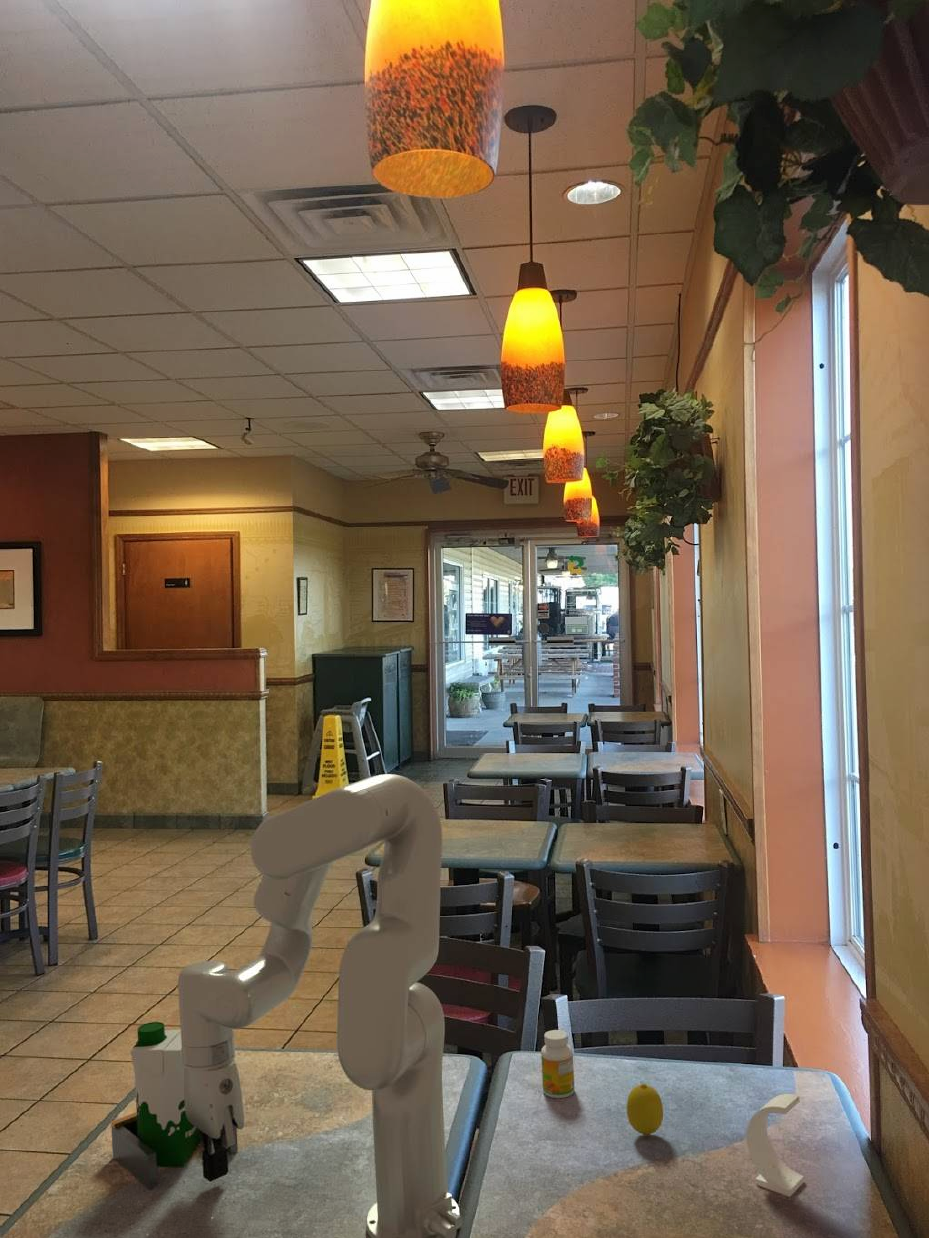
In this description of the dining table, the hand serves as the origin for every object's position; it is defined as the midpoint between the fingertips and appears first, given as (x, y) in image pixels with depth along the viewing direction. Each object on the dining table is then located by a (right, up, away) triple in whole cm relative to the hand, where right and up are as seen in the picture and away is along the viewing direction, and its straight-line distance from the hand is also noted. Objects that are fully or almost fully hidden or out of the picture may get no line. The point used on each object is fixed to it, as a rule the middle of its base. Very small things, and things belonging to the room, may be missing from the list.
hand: (216, 1175), depth 145 cm
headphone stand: (+80, +3, -7) cm, 80 cm away
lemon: (+64, +2, +8) cm, 65 cm away
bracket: (-8, -2, +9) cm, 12 cm away
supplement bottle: (+53, +1, +24) cm, 58 cm away
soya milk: (-9, -2, +9) cm, 13 cm away
